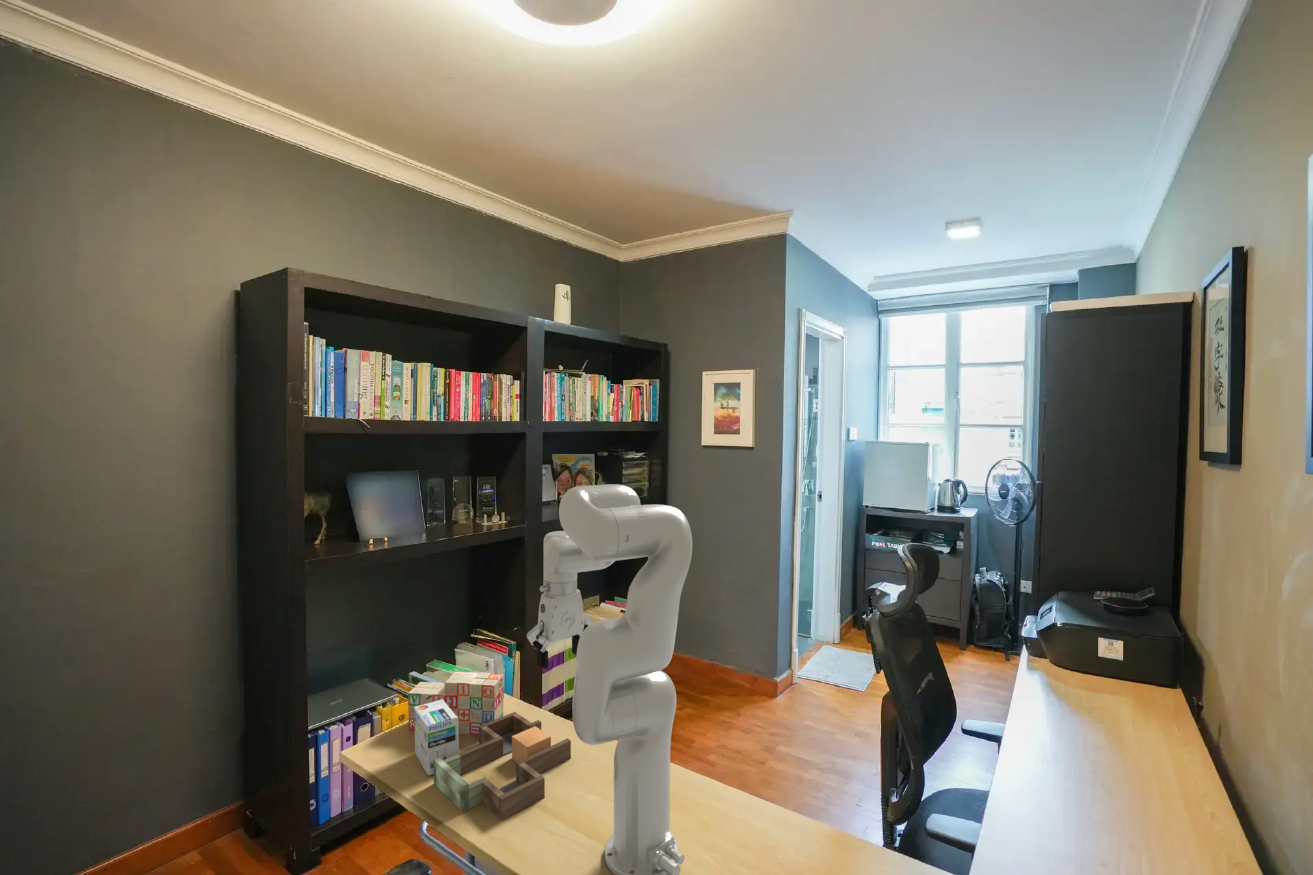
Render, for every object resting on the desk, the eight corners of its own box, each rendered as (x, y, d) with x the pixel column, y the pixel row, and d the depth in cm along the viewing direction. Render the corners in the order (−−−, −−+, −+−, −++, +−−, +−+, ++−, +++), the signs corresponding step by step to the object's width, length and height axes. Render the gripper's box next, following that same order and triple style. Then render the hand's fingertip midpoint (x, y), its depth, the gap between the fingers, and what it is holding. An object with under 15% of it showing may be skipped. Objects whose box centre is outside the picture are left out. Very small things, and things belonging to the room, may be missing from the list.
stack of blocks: (407, 731, 142) (407, 680, 142) (420, 718, 148) (420, 669, 148) (494, 736, 140) (494, 684, 140) (504, 722, 146) (504, 673, 146)
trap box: (591, 772, 126) (591, 748, 126) (482, 830, 108) (482, 803, 108) (521, 725, 145) (521, 705, 144) (418, 768, 127) (418, 745, 127)
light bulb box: (460, 766, 128) (459, 716, 127) (427, 777, 124) (426, 726, 123) (444, 744, 136) (443, 697, 136) (413, 753, 132) (412, 706, 132)
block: (550, 758, 131) (550, 736, 131) (527, 770, 127) (527, 746, 127) (535, 747, 135) (535, 726, 135) (512, 758, 131) (511, 736, 131)
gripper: (538, 598, 127) (538, 677, 128) (600, 582, 139) (600, 654, 140) (518, 591, 132) (518, 667, 133) (579, 575, 145) (579, 645, 145)
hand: (560, 660), depth 137 cm, fingers open, 9 cm apart
